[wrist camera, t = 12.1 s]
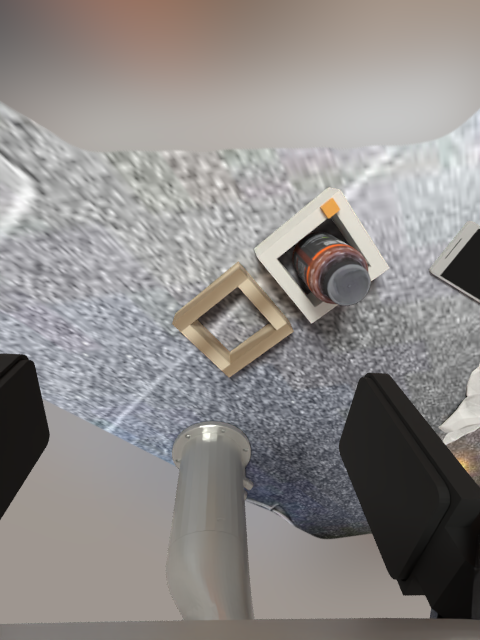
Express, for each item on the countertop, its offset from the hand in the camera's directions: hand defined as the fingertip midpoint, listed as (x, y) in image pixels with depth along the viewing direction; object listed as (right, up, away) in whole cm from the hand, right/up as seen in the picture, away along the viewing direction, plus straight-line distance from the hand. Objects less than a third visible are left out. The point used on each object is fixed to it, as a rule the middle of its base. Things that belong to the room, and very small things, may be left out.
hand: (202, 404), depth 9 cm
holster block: (0, +3, +32) cm, 32 cm away
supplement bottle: (+10, +10, +29) cm, 33 cm away
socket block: (+10, +11, +29) cm, 33 cm away
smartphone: (+33, +9, +32) cm, 47 cm away
